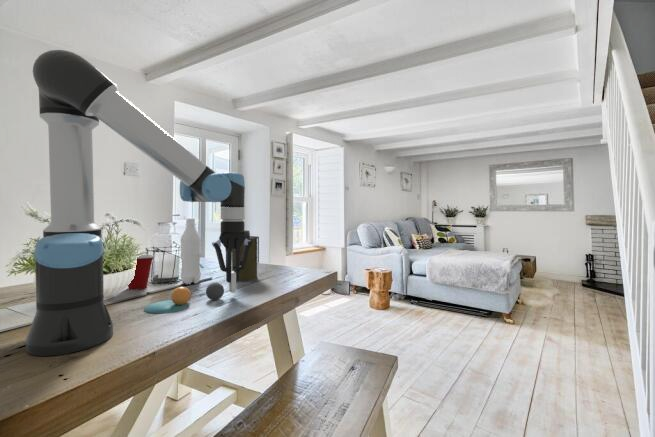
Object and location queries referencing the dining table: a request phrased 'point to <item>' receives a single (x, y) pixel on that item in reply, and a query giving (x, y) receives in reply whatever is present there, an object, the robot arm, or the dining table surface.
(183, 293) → the orange ball
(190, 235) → the water bottle
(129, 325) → the dining table surface
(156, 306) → the teal mark
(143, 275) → the plastic cup
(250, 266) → the canister
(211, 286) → the dark gray ball
